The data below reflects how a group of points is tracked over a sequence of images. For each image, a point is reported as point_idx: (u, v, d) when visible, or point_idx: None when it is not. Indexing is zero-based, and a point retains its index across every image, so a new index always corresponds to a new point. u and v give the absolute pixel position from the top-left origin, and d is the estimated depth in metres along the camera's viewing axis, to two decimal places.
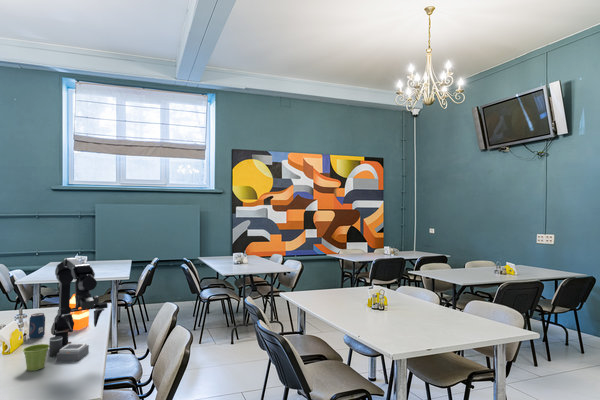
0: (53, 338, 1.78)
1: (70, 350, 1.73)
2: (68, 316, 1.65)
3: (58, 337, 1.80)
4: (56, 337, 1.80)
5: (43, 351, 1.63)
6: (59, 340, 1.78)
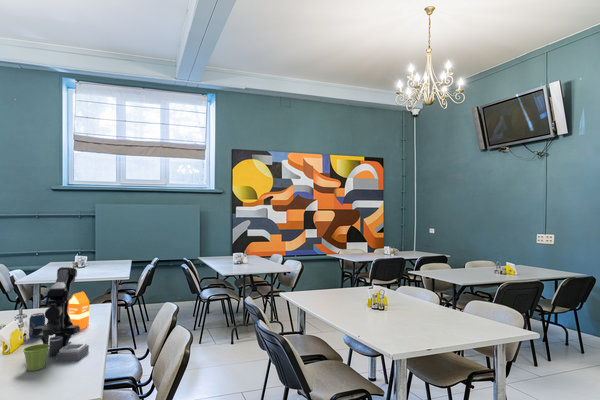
0: (53, 338, 1.78)
1: (70, 350, 1.73)
2: (39, 337, 1.76)
3: (58, 337, 1.80)
4: (56, 337, 1.80)
5: (43, 351, 1.63)
6: (59, 340, 1.78)
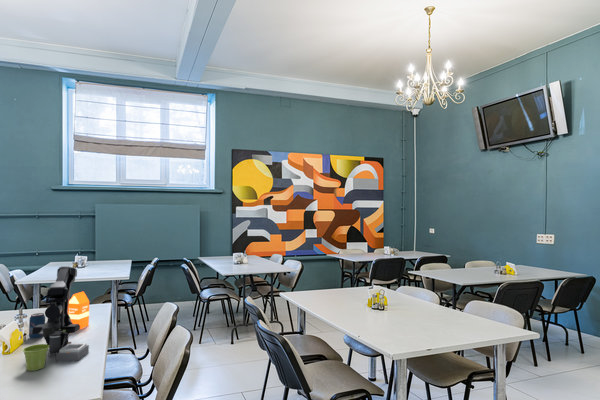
0: (53, 335, 1.78)
1: (70, 350, 1.73)
2: (42, 335, 1.76)
3: (58, 334, 1.80)
4: (56, 334, 1.80)
5: (43, 351, 1.63)
6: (59, 337, 1.78)
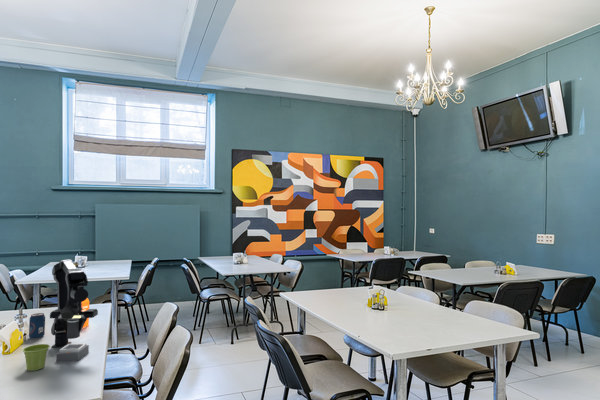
0: (71, 319, 1.77)
1: (70, 350, 1.73)
2: (61, 320, 1.75)
3: (76, 319, 1.78)
4: (74, 319, 1.78)
5: (43, 351, 1.63)
6: (77, 321, 1.77)
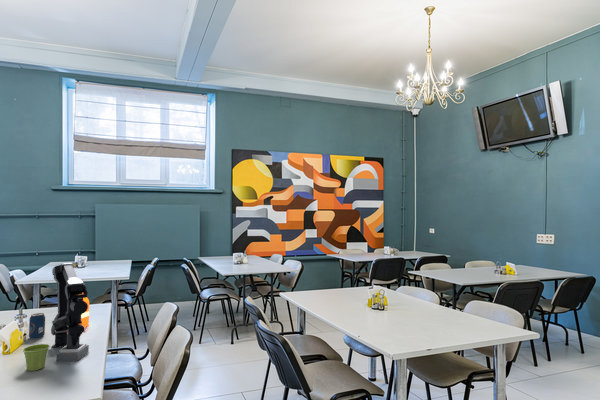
0: None
1: (70, 350, 1.73)
2: (66, 329, 1.80)
3: None
4: None
5: (43, 351, 1.63)
6: None
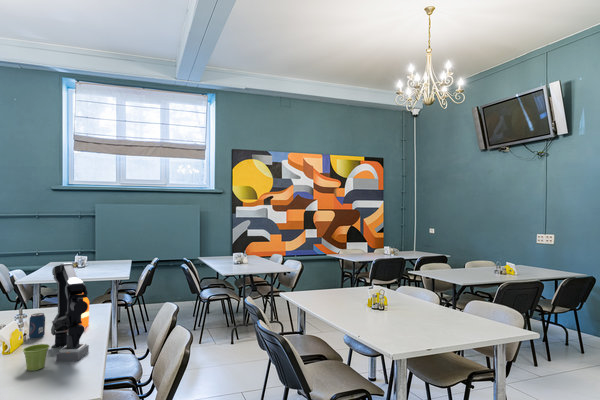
0: None
1: (70, 350, 1.73)
2: (66, 328, 1.81)
3: None
4: None
5: (43, 351, 1.63)
6: None
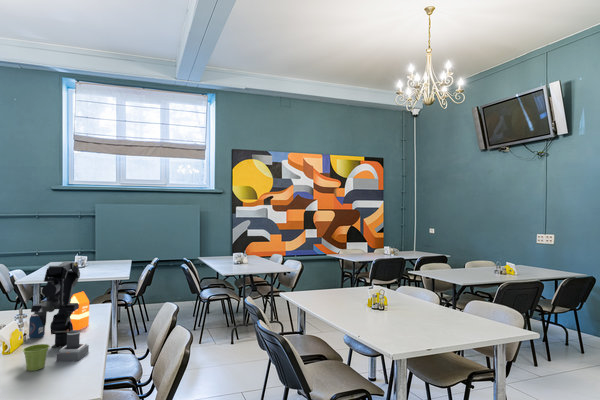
0: (71, 331, 1.77)
1: (70, 350, 1.73)
2: (37, 314, 1.78)
3: (74, 331, 1.77)
4: (74, 331, 1.78)
5: (43, 351, 1.63)
6: (70, 335, 1.75)
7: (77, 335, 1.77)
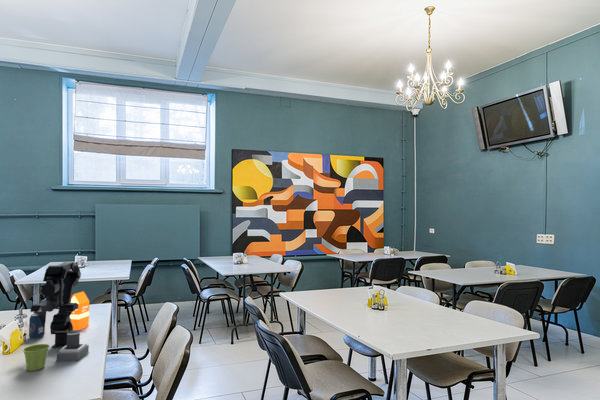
0: (71, 331, 1.77)
1: (70, 350, 1.73)
2: (37, 313, 1.78)
3: (74, 331, 1.77)
4: (74, 331, 1.78)
5: (43, 351, 1.63)
6: (70, 335, 1.75)
7: (77, 335, 1.77)
